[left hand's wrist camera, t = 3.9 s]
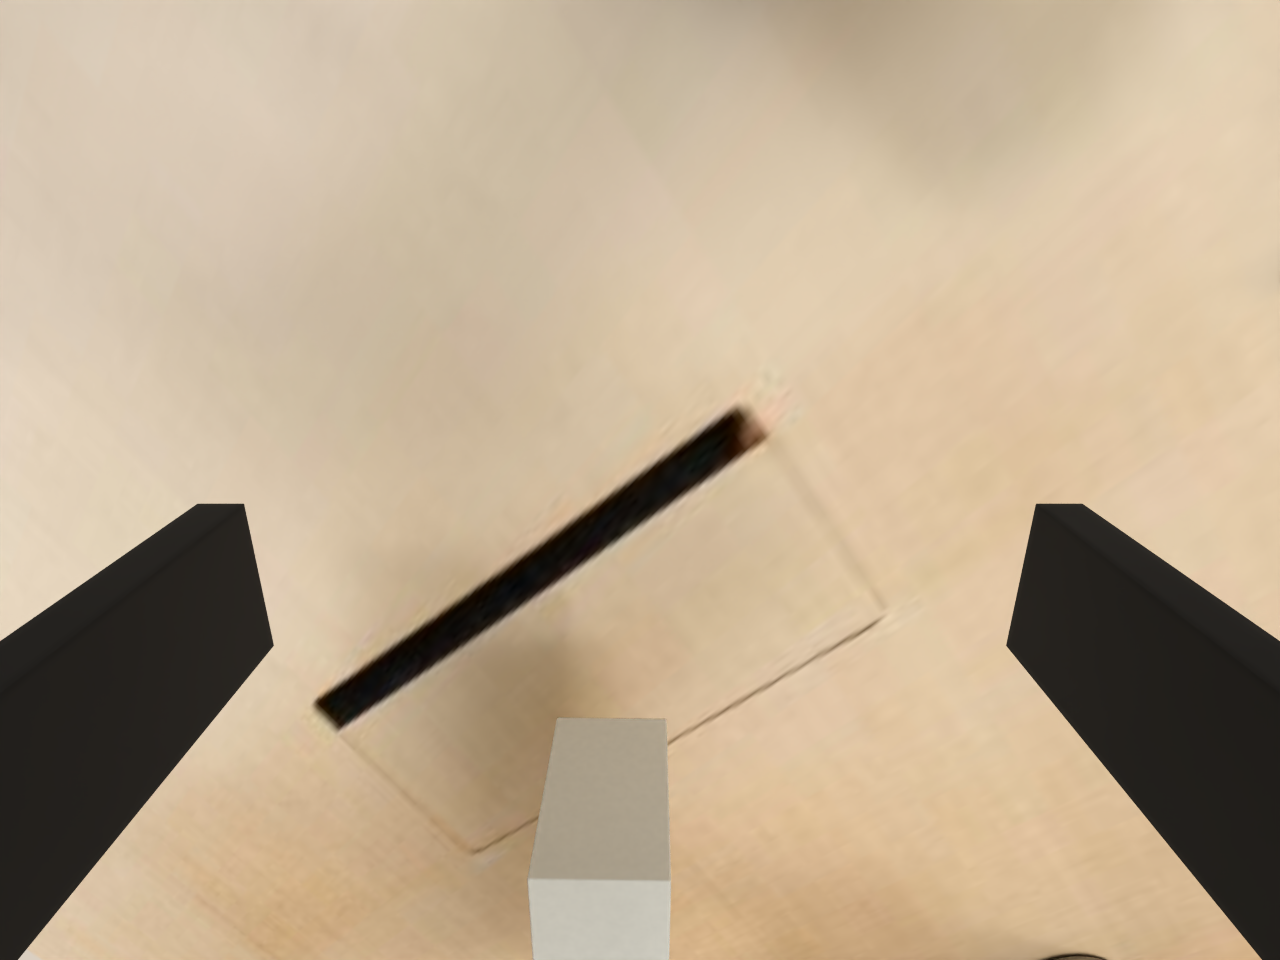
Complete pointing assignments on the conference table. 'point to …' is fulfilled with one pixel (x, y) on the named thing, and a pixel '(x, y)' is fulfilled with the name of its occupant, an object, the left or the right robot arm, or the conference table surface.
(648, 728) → the bar
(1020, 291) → the conference table surface
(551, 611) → the conference table surface
